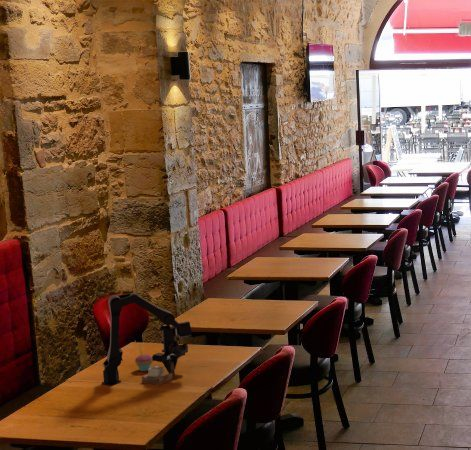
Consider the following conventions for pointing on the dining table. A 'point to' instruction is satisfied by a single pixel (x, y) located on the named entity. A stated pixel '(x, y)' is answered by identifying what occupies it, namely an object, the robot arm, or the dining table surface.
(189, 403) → the dining table surface
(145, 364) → the cupcake
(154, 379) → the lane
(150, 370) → the block with cord
